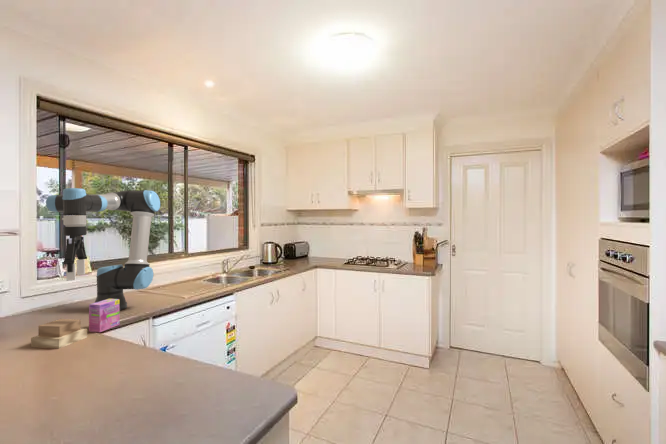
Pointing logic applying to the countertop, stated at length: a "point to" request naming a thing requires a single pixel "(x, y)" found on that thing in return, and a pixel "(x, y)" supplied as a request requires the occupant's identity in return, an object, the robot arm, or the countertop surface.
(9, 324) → the countertop surface
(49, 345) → the tower base
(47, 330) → the tower top
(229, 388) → the countertop surface
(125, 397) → the countertop surface
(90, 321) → the box
